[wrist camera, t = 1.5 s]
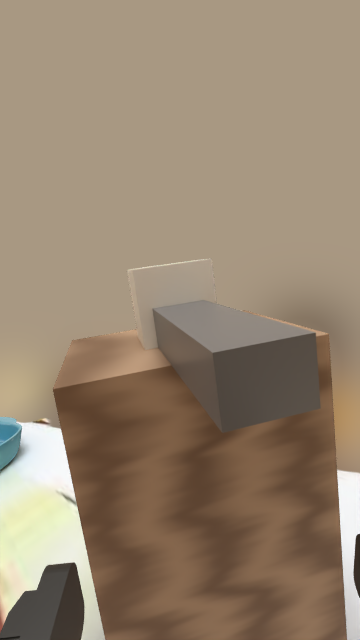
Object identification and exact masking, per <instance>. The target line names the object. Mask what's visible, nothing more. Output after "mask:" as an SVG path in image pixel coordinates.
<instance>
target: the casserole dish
mask: <svg viewBox="0 0 360 640" xmlns="http://www.w3.org/2000/svg"><path fill="white" fill-rule="evenodd" d="M21 431H22V426H21V425H20V424H18V423H16V419H14V418H9V417H0V470H1V469H2V468H4V467H5V466H6V465H7V464H9V463H10V462H11V461H12V459H13V458H14V457H15V456H16V454H17V452H18V449H19V445H20V439H21Z"/></svg>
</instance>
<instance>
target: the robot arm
mask: <svg viewBox="0 0 360 640" xmlns="http://www.w3.org/2000/svg"><path fill="white" fill-rule="evenodd" d="M354 581H355V586H356V589H357V592H358V595H359V597H360V534H358V535H357V536H356V544H355V559H354ZM83 624H84V600H83V595H82V590H81V585H80V581H79V576H78V571H77V567H76V564H75V563H64V564H55V565H48V566H46V568H45V569H44V571H43V574H42V577H41V580H40V582H39V585H38V588H37V590H34V591H25V592H24V593H23V595H22V596H21V597H20V599H19V600H18V601H17V603H16V604H15V605H14V607H13V608H12V609H11V611H10V612H9V613H8V616H7V618H6V621H5V623H4V626H3V628H2V630H1V633H0V640H81V635H82V630H83Z"/></svg>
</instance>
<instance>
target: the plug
mask: <svg viewBox="0 0 360 640" xmlns="http://www.w3.org/2000/svg"><path fill="white" fill-rule="evenodd" d="M127 271H128V278H129V284H130V290H131V296H132V303H133V309H134V315H135V322H136V328H137V334H138V338H139V340H140V342H141V343H142V345H143V347H144V349H145V350H148V349H153V348H159V349H160V351H161V352H162V353H163V355H164V356H165V357H166V359H167V360H168V361H169V363H170V364H171V365H172V367H173V368H174V369H175V371H176V372H177V373H178V375H179V376H180V377H181V379H182V380H183V381H184V383H185V384H186V385H187V387H188V388H189V389H190V391H191V392H192V393H193V395H194V396H195V397H196V399H197V400H198V401H199V403H200V404H201V405H202V407H203V408H204V409H205V411H206V412H207V413H208V415H209V416H210V417H211V419H212V420H213V421H214V423H215V424H216V425H217V427H218V428H219V429H220V431H221V432H222V433H224V432H228V431H232V430H236V429H240V428H244V427H248V426H252V425H256V424H260V423H264V422H268V421H272V420H276V419H280V418H284V417H288V416H292V415H297V414H301V413H305V412H309V411H313V410H317V409H321V406H320V391H319V375H318V360H317V345H316V332H312V331H309V330H306V329H302V328H299V327H295V326H292V325H288V324H285V323H281V322H278V321H274V320H271V319H268V318H264V317H261V316H257V315H254V314H250V313H247V312H243V311H240V310H236V309H233V308H230V307H226V306H223V305H219V304H217V302H216V292H215V284H214V275H213V266H212V259H204V260H194V261H187V262H180V263H173V264H166V265H158V266H151V267H144V268H137V269H129V270H127Z"/></svg>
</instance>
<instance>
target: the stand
mask: <svg viewBox="0 0 360 640" xmlns="http://www.w3.org/2000/svg"><path fill="white" fill-rule="evenodd" d="M243 312H247V313H250V314H254V315H257V316H261V317H264V318H268V319H271V320H274V321H278V322H281V323H285V324H288V325H292V326H295V327H299V328H302V329H306V330H309V331H312V332H316V345H317V360H318V375H319V391H320V406H321V409H317V410H313V411H309V412H305V413H301V414H297V415H292V416H288V417H284V418H280V419H276V420H272V421H268V422H264V423H260V424H256V425H252V426H248V427H244V428H240V429H236V430H232V431H228V432H224V433H222V432H221V431H220V429H219V428H218V427H217V425H216V424H215V423H214V421H213V420H212V419H211V417H210V416H209V415H208V413H207V412H206V411H205V409H204V408H203V407H202V405H201V404H200V403H199V401H198V400H197V399H196V397H195V396H194V395H193V393H192V392H191V391H190V389H189V388H188V387H187V385H186V384H185V383H184V381H183V380H182V379H181V377H180V376H179V375H178V373H177V372H176V371H175V369H174V368H173V367H172V365H171V364H170V363H169V361H168V360H167V359H166V357H165V356H164V355H163V353H162V352H161V351H160V349H159V348H153V349H148V350H145V349H144V347H143V345H142V343H141V342H140V340H139V338H138V334H137V329H135V330H129V331H124V332H118V333H112V334H106V335H101V336H95V337H89V338H83V339H77V340H72V342H71V345H70V347H69V350H68V352H67V355H66V357H65V360H64V362H63V365H62V367H61V370H60V373H59V375H58V378H57V380H56V382H55V385H54V387H53V392H54V397H55V402H56V407H57V411H58V416H59V421H60V425H61V430H62V435H63V440H64V445H65V449H66V454H67V459H68V464H69V468H70V473H71V478H72V483H73V487H74V492H75V497H76V502H77V506H78V511H79V516H80V521H81V526H82V530H83V535H84V540H85V545H86V549H87V554H88V559H89V564H90V568H91V573H92V578H93V583H94V587H95V592H96V597H97V602H98V606H99V611H100V616H101V621H102V626H103V630H104V635H105V640H347V634H346V617H345V600H344V583H343V566H342V548H341V531H340V514H339V497H338V480H337V464H336V446H335V429H334V412H333V395H332V378H331V360H330V343H329V334H327V333H324V332H320V331H317V330H313V329H309V328H306V327H302V326H299V325H295V324H291V323H288V322H284V321H281V320H277V319H274V318H270V317H266V316H263V315H259V314H256V313H252V312H249V311H245V310H244V311H243Z"/></svg>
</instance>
